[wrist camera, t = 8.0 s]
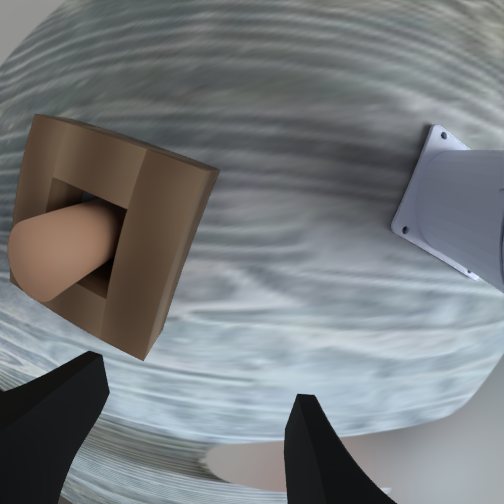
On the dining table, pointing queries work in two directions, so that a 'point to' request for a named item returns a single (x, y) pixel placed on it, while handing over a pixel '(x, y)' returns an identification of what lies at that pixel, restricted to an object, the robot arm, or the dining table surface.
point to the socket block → (134, 227)
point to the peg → (63, 246)
